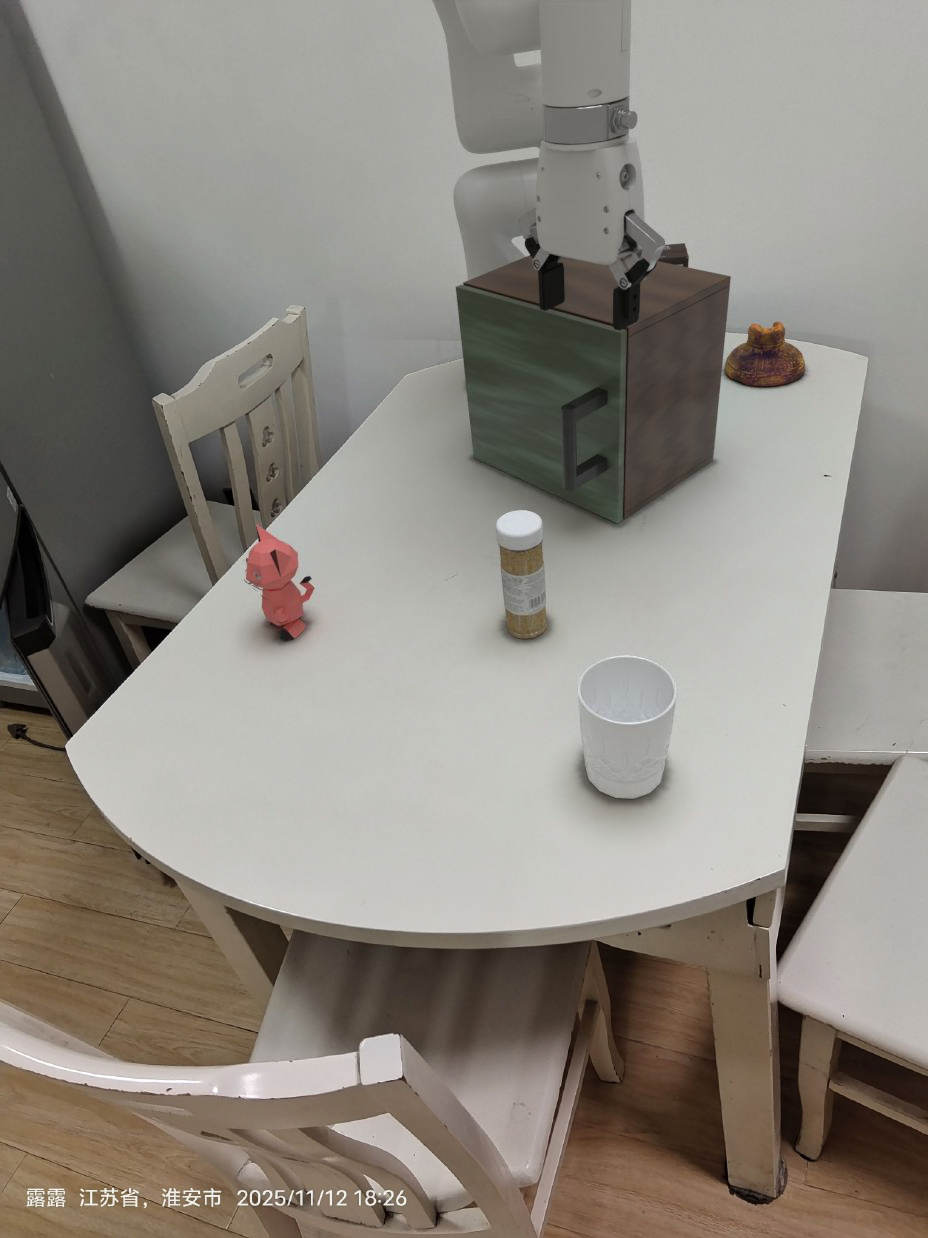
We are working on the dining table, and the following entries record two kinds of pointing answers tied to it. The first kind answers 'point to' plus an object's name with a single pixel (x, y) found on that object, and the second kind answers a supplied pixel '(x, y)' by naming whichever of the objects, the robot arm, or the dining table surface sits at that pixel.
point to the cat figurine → (278, 583)
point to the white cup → (626, 723)
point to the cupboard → (649, 362)
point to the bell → (765, 358)
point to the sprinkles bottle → (522, 572)
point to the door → (546, 397)
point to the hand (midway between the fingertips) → (587, 315)
